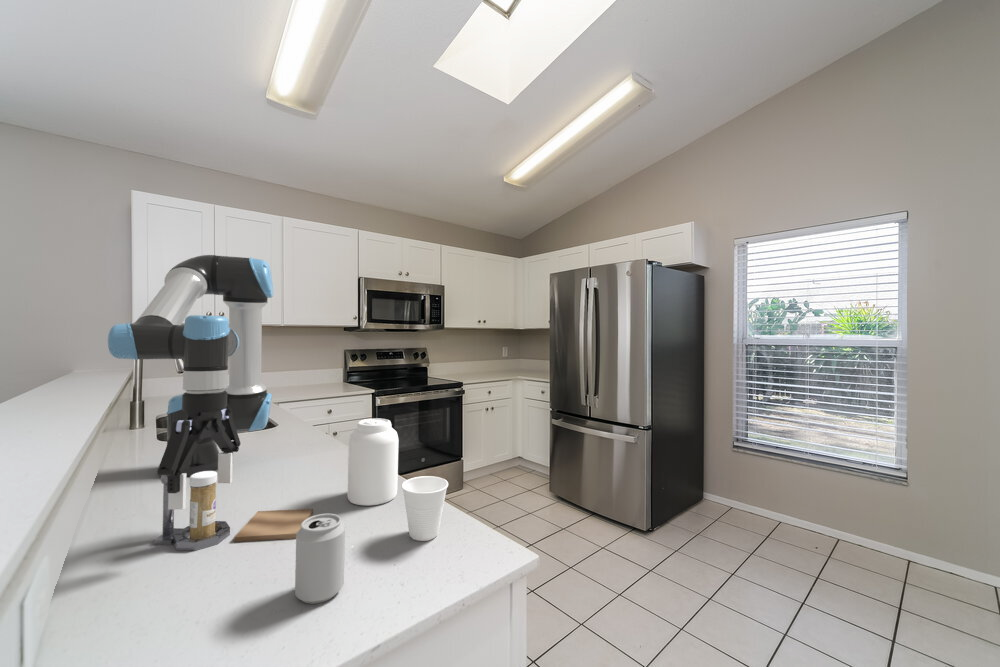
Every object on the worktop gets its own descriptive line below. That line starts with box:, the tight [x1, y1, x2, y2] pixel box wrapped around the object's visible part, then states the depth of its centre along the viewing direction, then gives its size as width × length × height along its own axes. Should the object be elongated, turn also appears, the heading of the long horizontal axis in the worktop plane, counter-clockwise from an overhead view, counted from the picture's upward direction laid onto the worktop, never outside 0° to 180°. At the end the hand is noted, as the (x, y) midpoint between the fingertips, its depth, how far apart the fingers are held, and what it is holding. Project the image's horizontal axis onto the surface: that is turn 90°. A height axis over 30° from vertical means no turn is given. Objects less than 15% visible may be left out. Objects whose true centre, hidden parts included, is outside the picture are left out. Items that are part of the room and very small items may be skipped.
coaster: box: [233, 508, 314, 543], centre depth 90 cm, size 12×12×1 cm
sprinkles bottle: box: [188, 470, 218, 539], centre depth 84 cm, size 5×5×13 cm
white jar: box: [347, 417, 400, 507], centre depth 107 cm, size 12×12×20 cm
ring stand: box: [152, 475, 231, 552], centre depth 84 cm, size 9×13×14 cm
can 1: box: [294, 513, 346, 605], centre depth 68 cm, size 8×8×12 cm
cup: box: [401, 475, 449, 542], centre depth 88 cm, size 10×10×11 cm
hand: (202, 494), depth 84 cm, fingers open, 13 cm apart
